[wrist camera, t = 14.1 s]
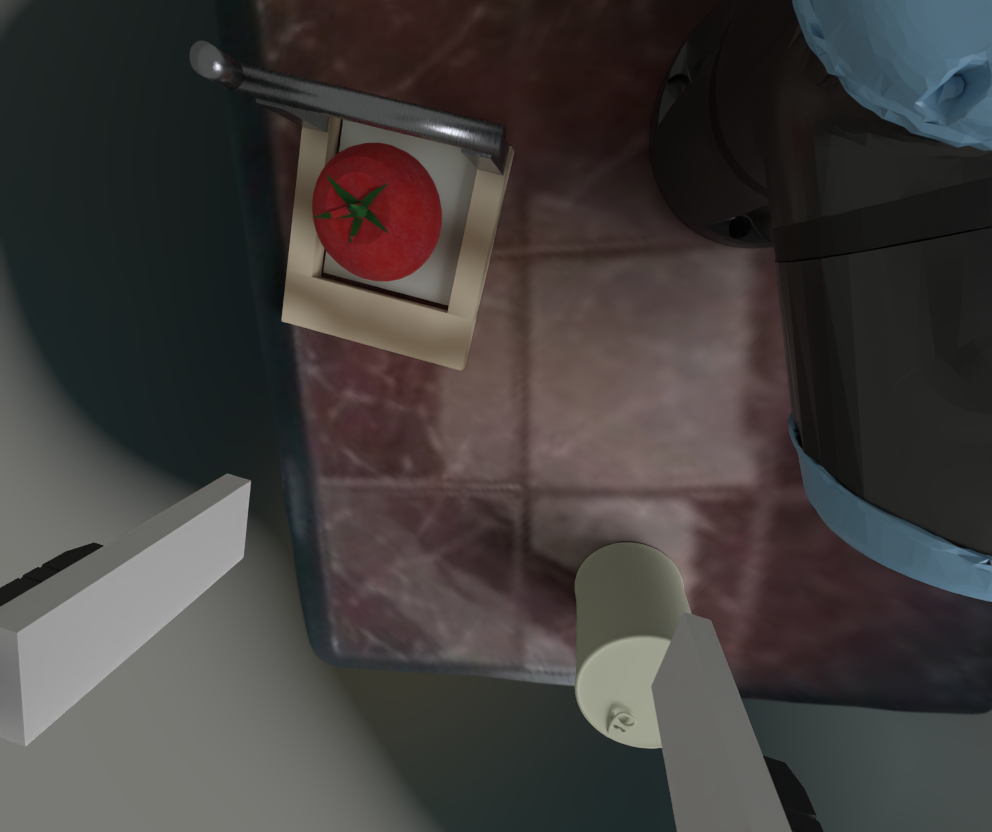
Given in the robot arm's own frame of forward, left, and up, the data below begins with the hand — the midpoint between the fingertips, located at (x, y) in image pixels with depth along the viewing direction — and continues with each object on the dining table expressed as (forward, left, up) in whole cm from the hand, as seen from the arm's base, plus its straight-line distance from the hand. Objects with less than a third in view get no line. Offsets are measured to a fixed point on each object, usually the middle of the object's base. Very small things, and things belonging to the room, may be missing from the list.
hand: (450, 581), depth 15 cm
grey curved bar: (0, -20, -25) cm, 32 cm away
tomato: (+3, -16, -27) cm, 31 cm away
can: (+1, +20, -27) cm, 34 cm away
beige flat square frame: (+4, -15, -27) cm, 31 cm away
